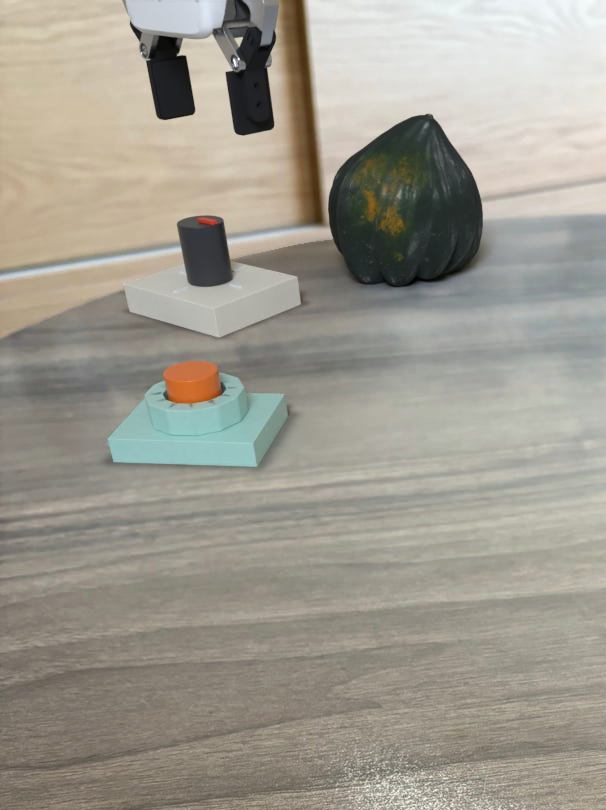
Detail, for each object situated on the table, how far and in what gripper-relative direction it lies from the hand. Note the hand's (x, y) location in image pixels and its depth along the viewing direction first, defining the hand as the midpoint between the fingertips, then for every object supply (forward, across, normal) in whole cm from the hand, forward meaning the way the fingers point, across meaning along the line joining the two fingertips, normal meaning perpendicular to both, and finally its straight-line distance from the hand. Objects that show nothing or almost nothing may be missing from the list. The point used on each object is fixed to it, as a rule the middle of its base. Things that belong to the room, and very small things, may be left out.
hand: (214, 124), depth 76 cm
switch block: (+17, +12, -13) cm, 25 cm away
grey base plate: (+17, -10, +4) cm, 20 cm away
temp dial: (+14, -10, +4) cm, 18 cm away
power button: (+14, +12, -13) cm, 22 cm away
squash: (+17, -4, +22) cm, 29 cm away
